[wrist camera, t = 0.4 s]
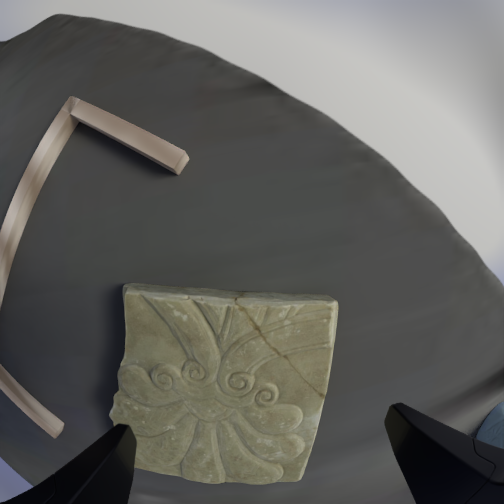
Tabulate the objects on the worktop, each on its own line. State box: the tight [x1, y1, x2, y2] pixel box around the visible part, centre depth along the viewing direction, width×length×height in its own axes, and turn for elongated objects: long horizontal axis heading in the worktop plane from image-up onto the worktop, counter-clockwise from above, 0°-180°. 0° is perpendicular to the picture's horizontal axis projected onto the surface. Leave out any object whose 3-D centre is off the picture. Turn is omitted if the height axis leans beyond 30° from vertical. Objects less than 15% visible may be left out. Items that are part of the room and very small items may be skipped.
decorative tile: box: [109, 283, 338, 484], centre depth 21 cm, size 19×20×4 cm
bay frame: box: [0, 96, 189, 438], centre depth 20 cm, size 33×14×2 cm, turn 149°
